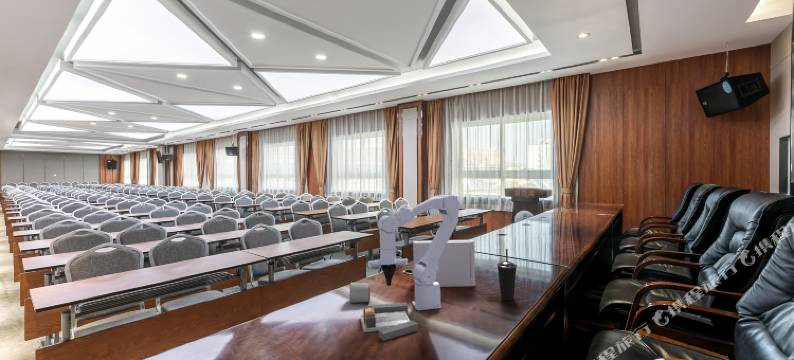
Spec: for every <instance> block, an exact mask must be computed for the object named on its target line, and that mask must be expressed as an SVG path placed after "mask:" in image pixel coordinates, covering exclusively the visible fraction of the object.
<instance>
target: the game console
mask: <svg viewBox="0 0 794 360" xmlns="http://www.w3.org/2000/svg"><path fill="white" fill-rule="evenodd" d="M412 241H413V242H412V243H413V244H412V245H413V247H412V248H413V250H412V251H413V266H414V265H415V264H417V263H418V261H419V260H420V258H422V257H424V256H425V254H426V252H427V250H428V248H429V246H430V244H431V243H432V241H433V239H432V240H412ZM475 247H476V246H475V240H474V239H449V240H448V242H447V244H446V246H445V248H444V250H443V252H442V254H441V256H440V258H439V260H438V262H437V265H438V270H437V273H436V279H435V281H434V282H438V283H439V286H440V288H443V287H444V288H445V287H448V288H449V287H475V286H476V278H475V276H476V275H475V272H476V267H475V266H476V262H475V261H476V260H475V259H476V257H475V254H476V253H475V252H476V251H475ZM413 280H414V283H415V277H414V276H413Z"/></svg>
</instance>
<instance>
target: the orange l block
mask: <svg viewBox="0 0 794 360" xmlns="http://www.w3.org/2000/svg"><path fill="white" fill-rule="evenodd" d="M365 315H375V311H374V308H368V309H365ZM365 321H366V317H365Z"/></svg>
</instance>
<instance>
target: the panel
mask: <svg viewBox="0 0 794 360" xmlns="http://www.w3.org/2000/svg"><path fill="white" fill-rule="evenodd" d="M368 308H372V305H365V306H364V305H363V306H362V310H363V311H362V314H361V315H360V322H361V326H362V327H361V328H362V331H363V333H368V332H376V331H377V332H379V330H381V329H385V328H388V327H392V326H395V325H399V324H402V323H406V322H409V321H411V320H410V318H409V316H408V315H407V314H408V313H406V312H405V311H396V312H386V313H376V314H375V315H365V309H368ZM365 317H366V321H365Z"/></svg>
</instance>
